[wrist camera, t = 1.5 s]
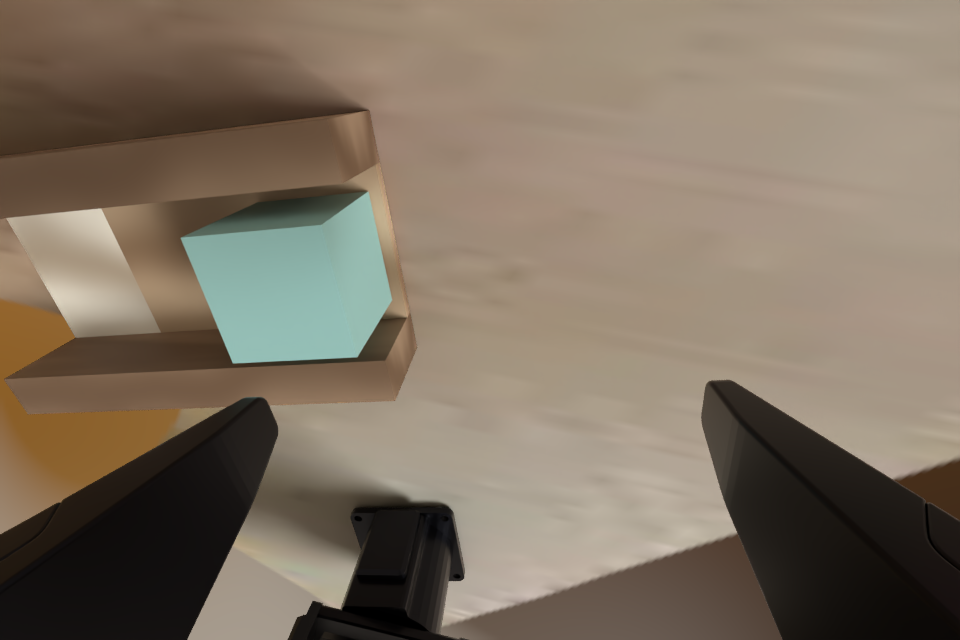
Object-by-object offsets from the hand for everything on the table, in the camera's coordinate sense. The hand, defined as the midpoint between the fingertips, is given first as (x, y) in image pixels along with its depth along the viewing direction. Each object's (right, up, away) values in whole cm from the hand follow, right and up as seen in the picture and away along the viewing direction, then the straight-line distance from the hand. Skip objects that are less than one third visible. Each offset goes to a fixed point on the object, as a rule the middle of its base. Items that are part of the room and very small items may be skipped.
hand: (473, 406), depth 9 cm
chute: (-13, +5, +13) cm, 19 cm away
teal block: (-7, +5, +11) cm, 14 cm away
